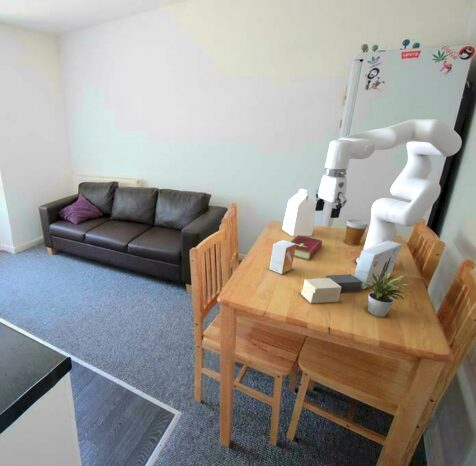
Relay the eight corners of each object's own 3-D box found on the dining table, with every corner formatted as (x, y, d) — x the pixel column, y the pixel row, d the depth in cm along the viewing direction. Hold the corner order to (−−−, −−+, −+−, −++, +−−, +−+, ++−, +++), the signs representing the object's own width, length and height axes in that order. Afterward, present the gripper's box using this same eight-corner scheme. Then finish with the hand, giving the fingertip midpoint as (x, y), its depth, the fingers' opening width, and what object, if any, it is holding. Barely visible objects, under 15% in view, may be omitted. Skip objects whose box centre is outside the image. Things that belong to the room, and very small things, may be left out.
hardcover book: (321, 246, 165) (322, 239, 163) (309, 260, 151) (310, 252, 149) (296, 241, 172) (298, 234, 171) (283, 253, 159) (284, 246, 157)
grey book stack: (348, 283, 130) (350, 274, 128) (359, 291, 124) (362, 281, 122) (323, 284, 130) (325, 275, 128) (333, 292, 124) (335, 283, 122)
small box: (281, 274, 139) (286, 248, 134) (268, 269, 144) (272, 243, 139) (291, 269, 143) (296, 243, 138) (279, 264, 148) (283, 239, 143)
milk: (312, 235, 180) (320, 191, 170) (292, 236, 179) (300, 192, 170) (300, 228, 191) (307, 187, 182) (282, 229, 191) (288, 187, 181)
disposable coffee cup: (342, 238, 174) (346, 218, 170) (363, 241, 169) (368, 221, 165) (341, 244, 167) (346, 223, 163) (362, 247, 162) (368, 226, 158)
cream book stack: (327, 292, 124) (330, 283, 122) (338, 301, 118) (341, 291, 116) (301, 294, 124) (302, 284, 122) (310, 303, 118) (312, 293, 116)
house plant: (349, 316, 109) (360, 275, 104) (347, 297, 120) (357, 259, 114) (401, 329, 102) (416, 286, 96) (394, 307, 113) (407, 268, 107)
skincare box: (364, 290, 124) (375, 254, 119) (350, 284, 129) (359, 249, 123) (392, 277, 133) (402, 243, 128) (377, 272, 138) (387, 239, 132)
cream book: (328, 282, 123) (329, 277, 122) (340, 292, 116) (341, 287, 115) (303, 284, 122) (304, 279, 121) (314, 293, 116) (315, 288, 115)
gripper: (361, 176, 114) (350, 220, 120) (329, 168, 130) (321, 207, 136) (341, 177, 113) (331, 221, 119) (312, 169, 129) (305, 208, 136)
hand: (326, 214), depth 128 cm, fingers open, 9 cm apart
